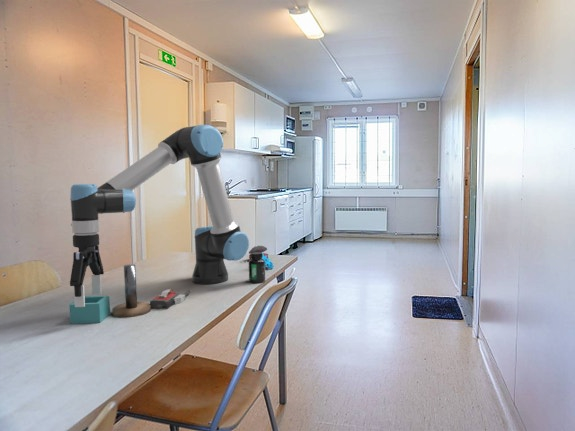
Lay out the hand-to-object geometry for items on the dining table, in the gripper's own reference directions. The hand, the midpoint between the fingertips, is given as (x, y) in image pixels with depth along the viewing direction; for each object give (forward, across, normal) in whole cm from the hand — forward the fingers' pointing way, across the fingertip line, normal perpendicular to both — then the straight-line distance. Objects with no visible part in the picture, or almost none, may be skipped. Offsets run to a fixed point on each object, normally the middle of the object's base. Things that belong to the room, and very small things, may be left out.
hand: (88, 300), depth 140 cm
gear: (+5, -68, +56) cm, 88 cm away
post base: (+6, -6, +11) cm, 14 cm away
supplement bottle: (+5, -42, +52) cm, 67 cm away
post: (+4, -6, +11) cm, 14 cm away
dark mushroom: (+5, -87, +52) cm, 102 cm away
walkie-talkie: (+6, -17, +22) cm, 29 cm away
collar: (+6, 0, 0) cm, 6 cm away
